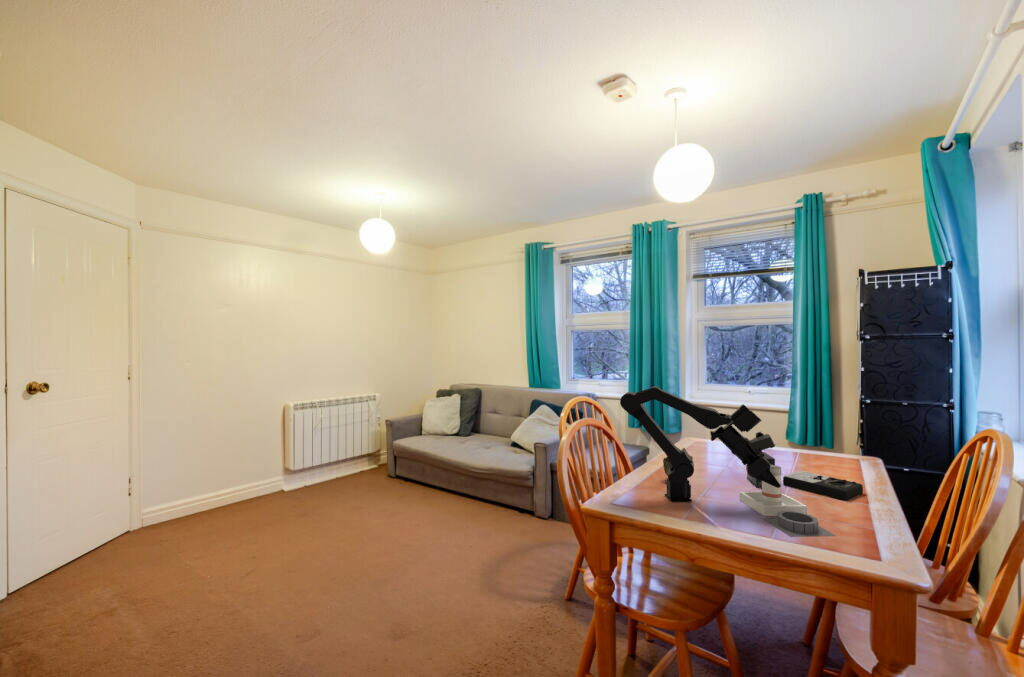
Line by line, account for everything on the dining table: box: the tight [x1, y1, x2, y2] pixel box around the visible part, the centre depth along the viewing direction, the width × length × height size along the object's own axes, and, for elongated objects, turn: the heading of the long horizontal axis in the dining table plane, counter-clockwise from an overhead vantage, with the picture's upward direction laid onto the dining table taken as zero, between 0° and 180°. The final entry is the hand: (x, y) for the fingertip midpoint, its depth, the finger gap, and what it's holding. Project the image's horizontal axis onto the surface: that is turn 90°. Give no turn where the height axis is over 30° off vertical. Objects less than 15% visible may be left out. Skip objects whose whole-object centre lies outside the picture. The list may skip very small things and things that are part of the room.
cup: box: [662, 456, 672, 477], centre depth 161 cm, size 8×7×8 cm
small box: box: [746, 451, 776, 489], centre depth 158 cm, size 11×6×10 cm, turn 168°
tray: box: [739, 491, 808, 517], centre depth 132 cm, size 13×13×4 cm
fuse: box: [761, 464, 782, 506], centre depth 133 cm, size 5×5×12 cm
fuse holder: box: [761, 511, 837, 538], centre depth 118 cm, size 12×12×4 cm
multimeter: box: [782, 470, 864, 502], centre depth 151 cm, size 13×19×5 cm
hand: (777, 482), depth 132 cm, fingers open, 9 cm apart
